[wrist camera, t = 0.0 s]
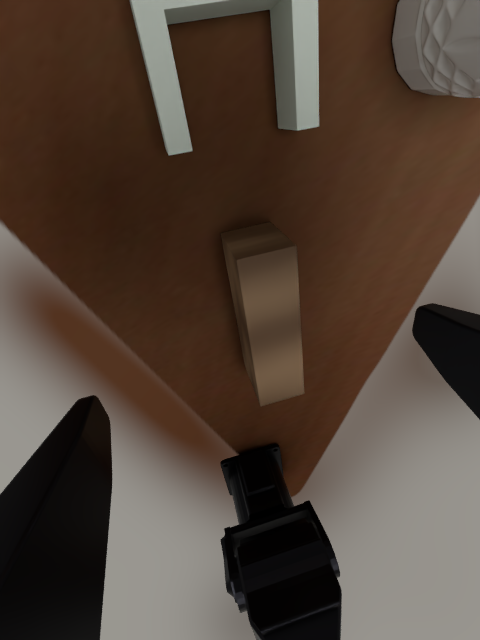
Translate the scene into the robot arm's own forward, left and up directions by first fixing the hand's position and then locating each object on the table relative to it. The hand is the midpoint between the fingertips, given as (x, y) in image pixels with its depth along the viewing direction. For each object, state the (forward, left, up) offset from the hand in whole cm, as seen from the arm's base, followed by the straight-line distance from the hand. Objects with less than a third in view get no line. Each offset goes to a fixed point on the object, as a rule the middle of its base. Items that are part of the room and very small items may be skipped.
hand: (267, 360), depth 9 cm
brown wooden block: (-7, -3, -15) cm, 17 cm away
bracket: (+7, -3, -15) cm, 16 cm away
